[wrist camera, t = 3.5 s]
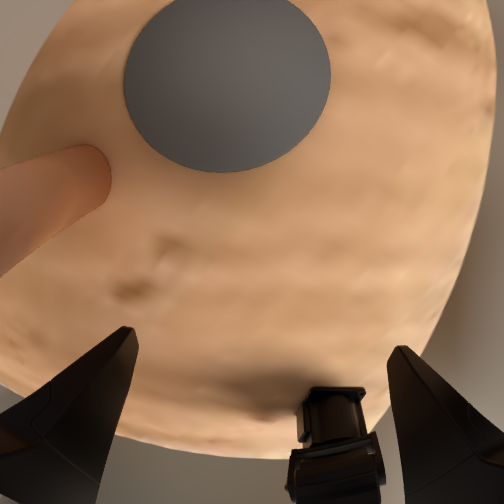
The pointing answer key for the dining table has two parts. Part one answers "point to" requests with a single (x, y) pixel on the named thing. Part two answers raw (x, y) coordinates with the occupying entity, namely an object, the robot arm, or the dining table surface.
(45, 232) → the tan rounded cylinder
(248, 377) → the dining table surface
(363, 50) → the dining table surface
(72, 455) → the robot arm
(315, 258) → the dining table surface
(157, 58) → the mat
